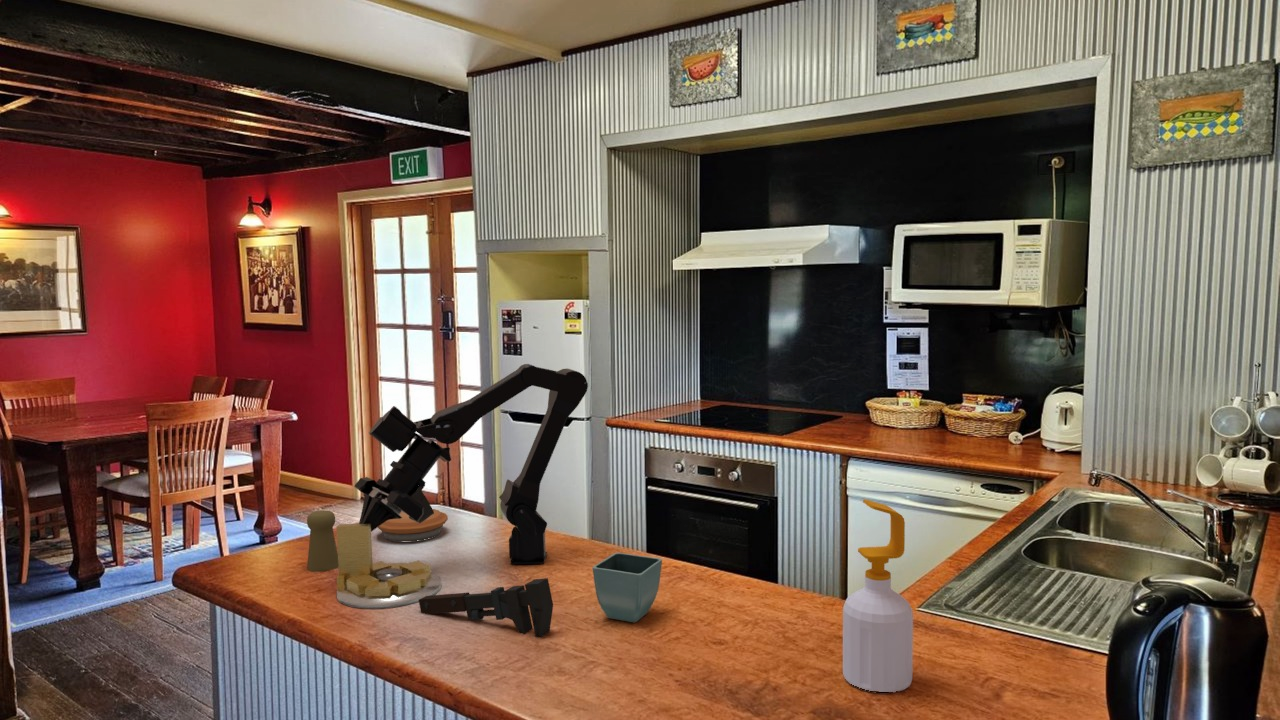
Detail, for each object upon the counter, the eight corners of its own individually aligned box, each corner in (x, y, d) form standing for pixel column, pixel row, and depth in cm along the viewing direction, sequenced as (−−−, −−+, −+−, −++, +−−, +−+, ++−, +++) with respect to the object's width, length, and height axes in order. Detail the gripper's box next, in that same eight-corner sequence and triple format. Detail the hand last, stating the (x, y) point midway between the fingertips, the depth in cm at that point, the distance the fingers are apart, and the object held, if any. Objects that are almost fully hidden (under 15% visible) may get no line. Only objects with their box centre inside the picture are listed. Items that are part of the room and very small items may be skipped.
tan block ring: (437, 568, 162) (435, 513, 161) (418, 595, 148) (416, 535, 147) (353, 569, 162) (351, 515, 161) (326, 596, 148) (323, 536, 147)
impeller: (450, 572, 164) (450, 555, 164) (428, 608, 146) (427, 589, 146) (356, 574, 164) (355, 557, 164) (321, 609, 146) (320, 590, 146)
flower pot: (664, 610, 144) (663, 557, 143) (641, 630, 136) (640, 574, 135) (616, 603, 147) (615, 551, 146) (592, 621, 139) (591, 567, 138)
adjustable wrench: (436, 637, 146) (558, 630, 135) (425, 643, 144) (549, 637, 132) (426, 588, 146) (547, 578, 135) (415, 593, 144) (538, 583, 133)
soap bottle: (834, 666, 122) (834, 494, 119) (897, 663, 122) (898, 492, 120) (855, 696, 113) (856, 511, 111) (923, 692, 113) (925, 509, 111)
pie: (457, 525, 197) (456, 504, 197) (435, 546, 182) (434, 523, 181) (392, 525, 199) (391, 503, 198) (364, 545, 183) (363, 522, 183)
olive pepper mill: (345, 561, 172) (342, 507, 171) (331, 571, 166) (328, 515, 165) (315, 561, 172) (313, 507, 172) (301, 571, 166) (298, 515, 166)
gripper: (465, 500, 159) (412, 573, 153) (420, 483, 173) (370, 549, 167) (423, 465, 153) (366, 539, 147) (380, 450, 167) (327, 517, 161)
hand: (358, 537), depth 156 cm, fingers closed
